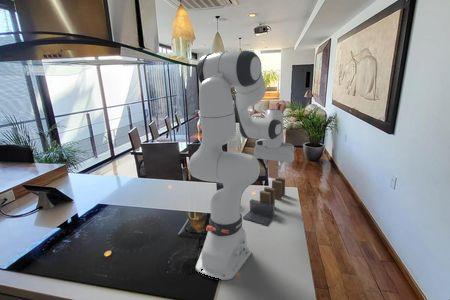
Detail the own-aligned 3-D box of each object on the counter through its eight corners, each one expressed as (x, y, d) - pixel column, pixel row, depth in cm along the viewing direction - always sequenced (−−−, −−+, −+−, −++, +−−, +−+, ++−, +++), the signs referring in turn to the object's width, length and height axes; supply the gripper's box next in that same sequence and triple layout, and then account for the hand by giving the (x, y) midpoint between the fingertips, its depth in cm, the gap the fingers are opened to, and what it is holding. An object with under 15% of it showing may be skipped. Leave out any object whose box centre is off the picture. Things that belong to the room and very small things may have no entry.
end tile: (283, 196, 132) (284, 179, 130) (275, 194, 135) (275, 177, 132) (284, 194, 134) (285, 178, 131) (276, 193, 136) (276, 176, 134)
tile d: (273, 208, 120) (273, 189, 118) (264, 205, 123) (264, 187, 120) (274, 206, 122) (274, 188, 119) (265, 204, 124) (265, 186, 122)
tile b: (280, 199, 128) (280, 182, 126) (271, 197, 131) (272, 180, 128) (281, 198, 130) (282, 181, 127) (273, 196, 132) (273, 179, 130)
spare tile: (269, 176, 125) (269, 158, 122) (278, 178, 122) (278, 159, 119) (268, 177, 123) (268, 159, 121) (277, 179, 121) (277, 160, 118)
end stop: (266, 225, 106) (266, 213, 104) (243, 218, 112) (242, 207, 111) (274, 216, 113) (274, 204, 111) (251, 210, 119) (251, 199, 118)
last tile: (269, 212, 116) (269, 193, 114) (260, 210, 119) (259, 191, 116) (270, 211, 118) (270, 192, 115) (261, 208, 120) (261, 190, 118)
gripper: (296, 142, 114) (295, 169, 118) (257, 138, 126) (258, 163, 129) (292, 145, 109) (291, 173, 113) (252, 141, 121) (252, 167, 124)
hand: (273, 168), depth 121 cm, fingers closed on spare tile, 5 cm apart
